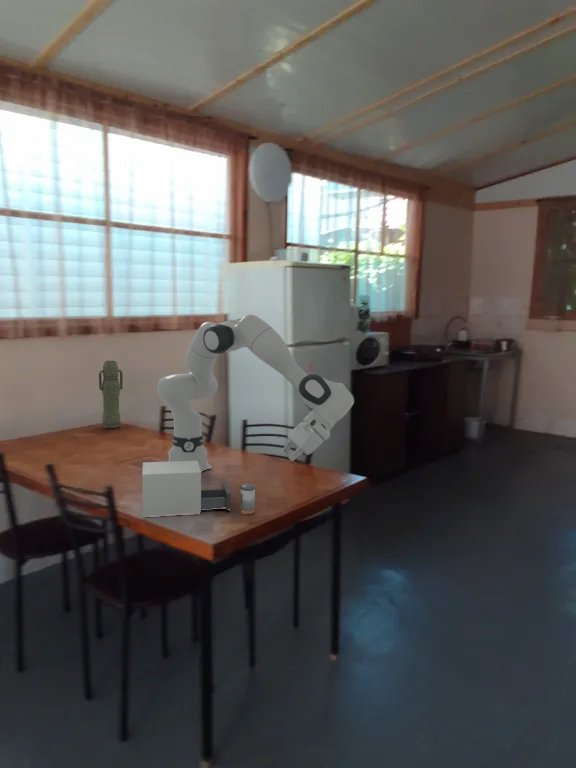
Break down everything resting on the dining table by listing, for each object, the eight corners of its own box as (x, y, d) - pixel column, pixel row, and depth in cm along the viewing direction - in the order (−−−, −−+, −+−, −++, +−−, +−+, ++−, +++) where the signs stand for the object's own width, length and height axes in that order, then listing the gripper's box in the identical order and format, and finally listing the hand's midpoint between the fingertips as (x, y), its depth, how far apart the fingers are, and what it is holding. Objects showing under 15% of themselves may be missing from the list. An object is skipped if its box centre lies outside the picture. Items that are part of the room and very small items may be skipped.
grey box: (143, 503, 201) (142, 462, 199) (197, 500, 205) (197, 460, 203) (142, 518, 188) (142, 474, 186) (200, 514, 192) (201, 472, 190)
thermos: (97, 426, 317) (96, 360, 312) (119, 424, 324) (118, 359, 319) (103, 430, 310) (101, 362, 305) (125, 427, 317) (124, 361, 312)
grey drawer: (174, 500, 203) (174, 483, 202) (225, 498, 207) (225, 481, 206) (176, 514, 190) (176, 495, 190) (230, 511, 194) (230, 493, 193)
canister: (239, 510, 197) (239, 483, 196) (253, 509, 198) (254, 483, 197) (241, 515, 192) (241, 488, 191) (256, 514, 193) (256, 487, 192)
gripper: (301, 413, 207) (273, 442, 206) (317, 424, 187) (287, 456, 186) (314, 425, 208) (286, 454, 207) (331, 438, 188) (300, 470, 187)
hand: (286, 455), depth 196 cm, fingers open, 8 cm apart
